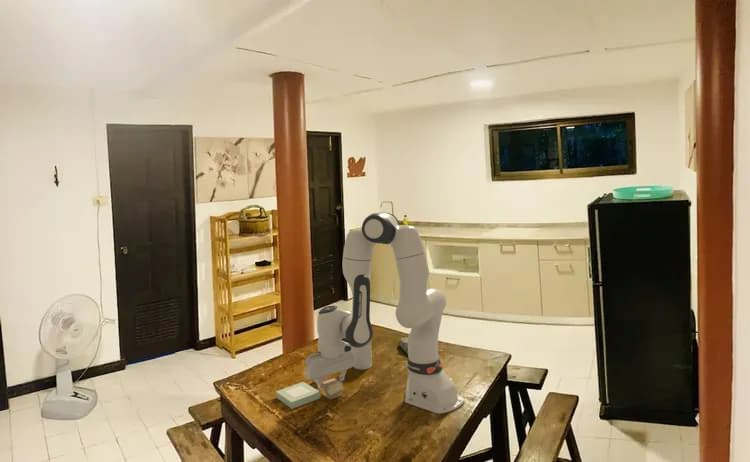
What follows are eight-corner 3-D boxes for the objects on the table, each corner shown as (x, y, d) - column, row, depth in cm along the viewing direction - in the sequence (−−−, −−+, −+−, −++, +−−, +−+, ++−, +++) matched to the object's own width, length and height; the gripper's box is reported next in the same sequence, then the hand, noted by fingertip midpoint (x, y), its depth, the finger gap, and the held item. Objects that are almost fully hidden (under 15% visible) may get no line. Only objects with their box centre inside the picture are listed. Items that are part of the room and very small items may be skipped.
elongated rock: (419, 375, 201) (442, 373, 204) (420, 363, 200) (442, 361, 203) (393, 343, 235) (413, 341, 237) (394, 332, 234) (413, 331, 236)
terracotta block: (328, 382, 195) (328, 371, 195) (319, 385, 193) (318, 374, 192) (322, 378, 199) (322, 368, 198) (313, 381, 196) (312, 371, 195)
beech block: (342, 395, 183) (342, 382, 183) (330, 399, 180) (330, 387, 179) (334, 390, 188) (334, 378, 187) (322, 395, 184) (322, 382, 184)
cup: (371, 369, 206) (370, 342, 204) (352, 369, 206) (351, 342, 205) (372, 361, 214) (371, 335, 212) (354, 362, 214) (352, 336, 213)
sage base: (320, 398, 181) (319, 391, 181) (291, 408, 174) (291, 402, 174) (303, 387, 191) (303, 381, 190) (276, 397, 183) (275, 391, 183)
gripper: (309, 358, 174) (311, 395, 176) (356, 345, 186) (357, 379, 188) (301, 353, 179) (302, 388, 181) (347, 340, 191) (348, 373, 193)
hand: (331, 383), depth 184 cm, fingers open, 8 cm apart
